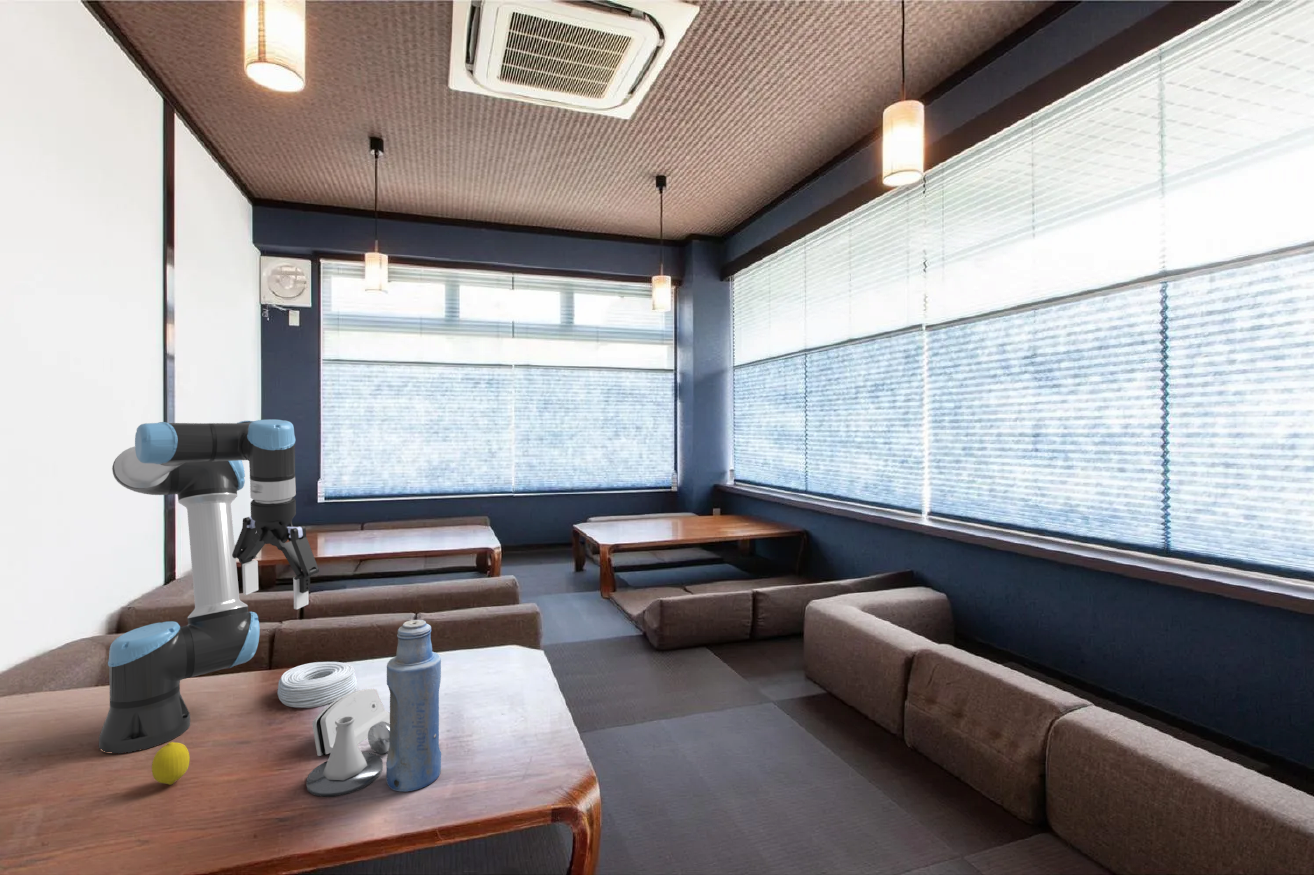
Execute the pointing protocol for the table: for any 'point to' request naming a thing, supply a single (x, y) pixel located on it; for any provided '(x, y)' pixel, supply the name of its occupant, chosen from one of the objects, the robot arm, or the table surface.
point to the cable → (316, 684)
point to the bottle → (414, 710)
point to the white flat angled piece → (355, 704)
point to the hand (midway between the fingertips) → (275, 599)
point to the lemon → (170, 763)
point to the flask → (344, 752)
